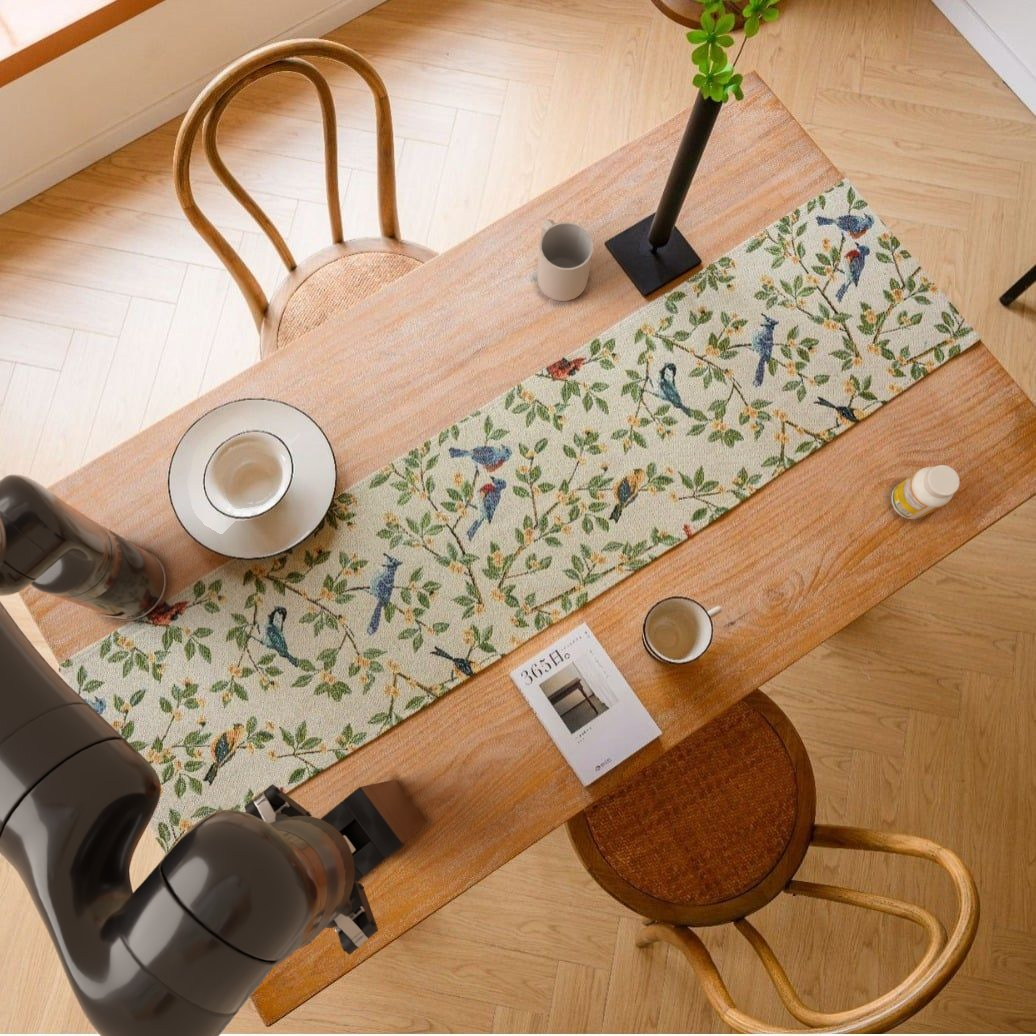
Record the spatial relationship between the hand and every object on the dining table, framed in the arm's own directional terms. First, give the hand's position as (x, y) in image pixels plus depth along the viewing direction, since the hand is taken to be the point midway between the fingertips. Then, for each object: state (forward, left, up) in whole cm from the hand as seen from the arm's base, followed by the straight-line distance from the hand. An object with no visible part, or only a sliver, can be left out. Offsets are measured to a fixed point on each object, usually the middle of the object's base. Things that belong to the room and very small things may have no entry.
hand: (332, 854), depth 74 cm
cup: (-44, +64, -39) cm, 87 cm away
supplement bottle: (+12, +79, -39) cm, 89 cm away
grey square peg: (0, 0, -5) cm, 5 cm away
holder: (0, +1, -39) cm, 39 cm away
